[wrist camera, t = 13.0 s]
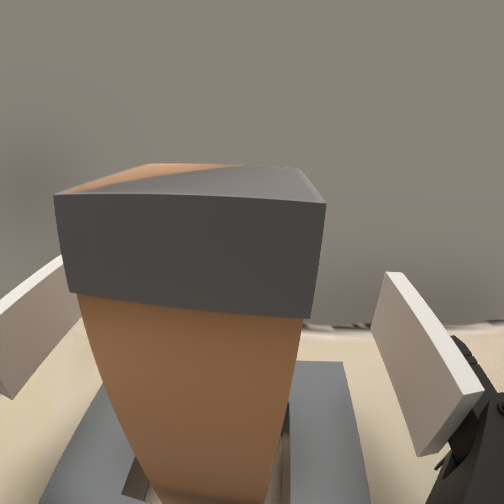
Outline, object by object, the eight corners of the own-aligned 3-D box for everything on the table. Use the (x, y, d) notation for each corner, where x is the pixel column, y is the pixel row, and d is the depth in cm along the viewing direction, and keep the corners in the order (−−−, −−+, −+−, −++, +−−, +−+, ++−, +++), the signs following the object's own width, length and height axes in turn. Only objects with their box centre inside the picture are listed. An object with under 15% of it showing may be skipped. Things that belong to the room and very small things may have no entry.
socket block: (331, 394, 18) (342, 361, 16) (353, 584, 6) (379, 578, 4) (136, 375, 18) (128, 341, 17) (61, 539, 6) (30, 521, 5)
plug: (265, 446, 14) (299, 168, 9) (261, 520, 10) (326, 203, 4) (180, 436, 14) (147, 163, 9) (161, 506, 10) (53, 195, 5)
